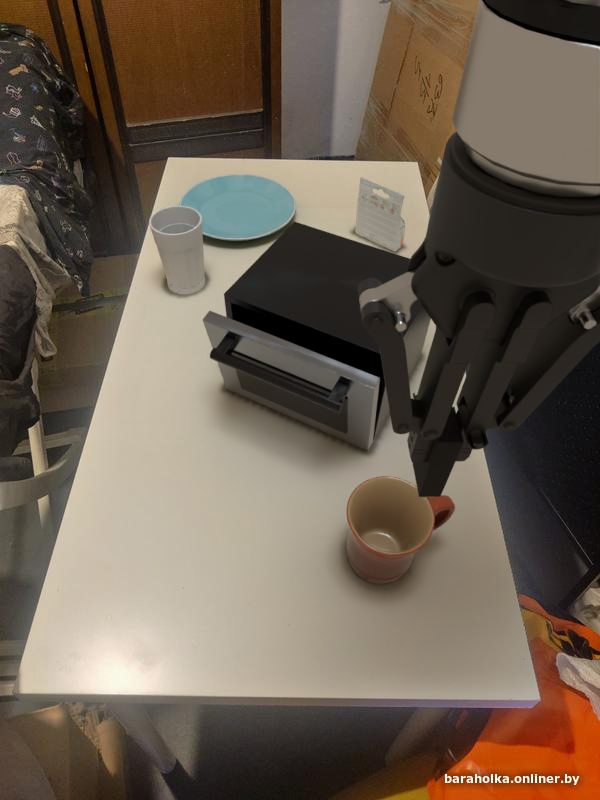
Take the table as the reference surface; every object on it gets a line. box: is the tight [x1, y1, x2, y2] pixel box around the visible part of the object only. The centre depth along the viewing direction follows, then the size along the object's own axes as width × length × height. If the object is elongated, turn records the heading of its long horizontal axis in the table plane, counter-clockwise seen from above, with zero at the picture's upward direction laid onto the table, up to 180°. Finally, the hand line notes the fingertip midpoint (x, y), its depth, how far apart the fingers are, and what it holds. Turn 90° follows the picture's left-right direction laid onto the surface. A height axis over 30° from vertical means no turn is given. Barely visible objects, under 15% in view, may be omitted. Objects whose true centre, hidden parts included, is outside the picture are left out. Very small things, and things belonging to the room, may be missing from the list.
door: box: [202, 310, 380, 452], centre depth 68 cm, size 5×22×16 cm, turn 62°
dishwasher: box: [223, 221, 432, 442], centre depth 75 cm, size 18×22×16 cm
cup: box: [148, 205, 206, 295], centre depth 88 cm, size 8×8×12 cm
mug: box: [345, 475, 456, 585], centre depth 59 cm, size 12×9×10 cm
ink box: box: [354, 177, 406, 253], centre depth 97 cm, size 3×9×12 cm, turn 50°
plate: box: [178, 173, 297, 242], centre depth 105 cm, size 22×22×3 cm
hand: (426, 479), depth 38 cm, fingers closed
